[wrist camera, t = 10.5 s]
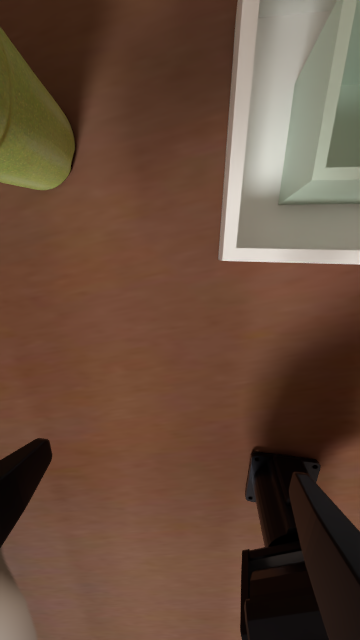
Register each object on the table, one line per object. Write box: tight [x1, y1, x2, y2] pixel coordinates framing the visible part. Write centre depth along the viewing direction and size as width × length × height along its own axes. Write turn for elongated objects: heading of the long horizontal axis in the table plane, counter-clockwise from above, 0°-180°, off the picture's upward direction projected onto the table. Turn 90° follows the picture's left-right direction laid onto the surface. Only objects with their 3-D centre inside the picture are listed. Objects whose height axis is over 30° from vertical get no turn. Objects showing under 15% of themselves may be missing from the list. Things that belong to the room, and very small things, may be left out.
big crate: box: [218, 0, 360, 264], centre depth 12 cm, size 14×14×5 cm
